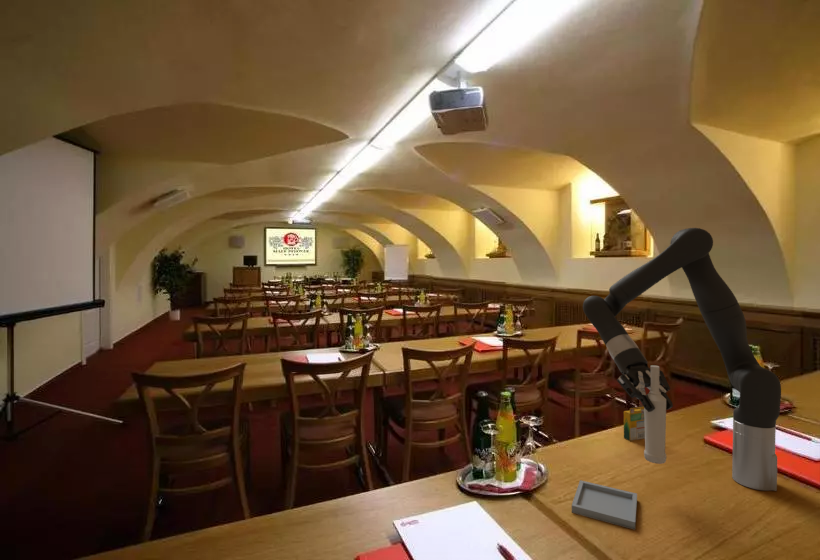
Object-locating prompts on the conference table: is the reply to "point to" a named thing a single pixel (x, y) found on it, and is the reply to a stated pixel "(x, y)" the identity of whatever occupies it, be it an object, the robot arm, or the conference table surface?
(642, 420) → the crayon box
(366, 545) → the conference table surface
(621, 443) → the conference table surface
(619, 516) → the tray
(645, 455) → the bottle
